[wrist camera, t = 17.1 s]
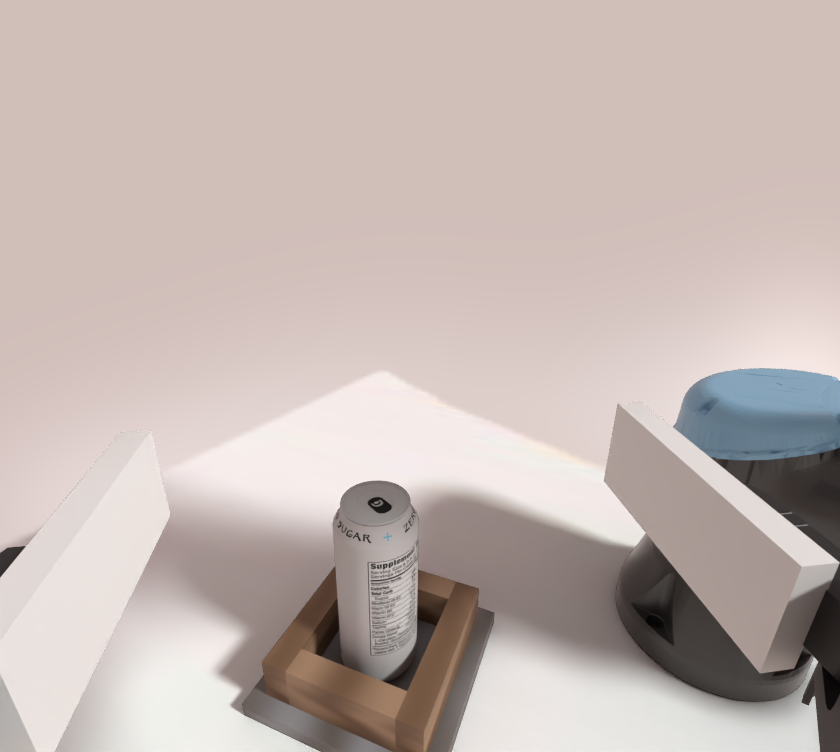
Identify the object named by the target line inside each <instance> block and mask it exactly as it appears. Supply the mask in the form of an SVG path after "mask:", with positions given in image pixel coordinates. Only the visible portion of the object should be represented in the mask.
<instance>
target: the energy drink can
mask: <svg viewBox="0 0 840 752" xmlns="http://www.w3.org/2000/svg"><path fill="white" fill-rule="evenodd" d="M418 531H419V518H418V515H417V512H416V511H415V509H414V508H413V506H412V505H411V503H410V497H409V494H408V493H407V491H406V490H405V489H404V488H402V487H401V486H399V485H397V484H394V483H391V482H387V481H368V482H363V483H360V484H357V485H355V486H353V487H351V488H350V489H348V490H347V491H346V492H345V493H344V494H343V496H342V498H341V502H340V508H339V509H338V511H337V513H336V515H335V517H334V520H333V537H334V552H335V568H336V583H337V598H338V614H339V629H340V645H341V657H342V660H343V663H344V664H345V666H346V667H348V668H351V669H353V670H356V671H358V672H361V673H363V674H366V675H368V676H371V677H373V678H376V679H378V680H380V681H383V682H385V683H386V682H389V681H392V680H394V679H395V678H397V677H398V676H400V675H401V674H402V673H403V672H404V671H405V670H407V669H408V667H409V666H410V665H411V663H412V662H413V660H414V657H415V655H416V650H417V594H418Z"/></svg>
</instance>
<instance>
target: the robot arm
mask: <svg viewBox="0 0 840 752" xmlns="http://www.w3.org/2000/svg"><path fill="white" fill-rule="evenodd" d="M604 482H605V483H606V484H607V485H608V487H609V488H610V489H611V490H612V492H613V493H614V494H615V495H616V497H617V498H618V499H619V500H620V501H621V503H622V504H623V505H624V506H625V508H626V509H627V510H628V511H629V513H630V514H631V515H632V516H633V517H634V519H635V520H636V521H637V522H638V524H639V525H640V526H641V527H642V529H643V530H644V531H645V532H646V534H645V535H644V536H643V538H642V539H641V540H640V542H639V543H638V544H637V546H636V547H635V548H634V549H633V551H632V552H631V553H630V555H629V556H628V557H627V559H626V560H625V562H624V564H623V566H622V568H621V571H620V575H619V579H618V584H617V589H616V603H617V608H618V612H619V614H620V617H621V619H622V621H623V623H624V625H625V627H626V629H627V630H628V632H629V633H630V635H631V636H632V637H633V639H634V640H635V641H636V642H637V644H638V645H639V646H640V647H641V648H642V649H643V650H644V651H645V652H646V653H647V654H648V655H649V656H650V657H651V658H652V659H654V660H655V661H656V662H657V663H658V664H660V665H661V666H662V667H664V668H665V669H666V670H668V671H669V672H671V673H672V674H674V675H675V676H677V677H679V678H681V679H682V680H684V681H686V682H688V683H690V684H692V685H694V686H696V687H698V688H700V689H703V690H705V691H708V692H710V693H713V694H716V695H719V696H723V697H727V698H731V699H736V700H742V701H754V702H758V701H771V700H776V699H779V698H783V697H785V696H787V695H789V694H791V693H793V692H794V691H795V690H797V689H798V687H799V686H800V685H801V684H802V683H803V681H804V679H805V677H806V675H807V672H808V670H809V668H810V666H811V663H812V661H813V658H814V657H815V658H816V659H817V661H818V664H817V666H816V668H815V670H814V673H813V675H812V677H811V679H810V681H809V684H808V686H807V688H806V690H805V692H804V695H803V699H802V703H804V704H806V705H809V703H810V701H811V699H812V697H814V696H815V698H816V709H817V720H818V732H819V743H820V752H840V381H838V379H837V378H836V377H832V376H828V375H822V374H817V373H811V372H805V371H797V370H787V369H765V368H760V369H739V370H733V371H726V372H721V373H717V374H713V375H711V376H708V377H706V378H704V379H701V380H700V381H698V382H697V383H695V384H694V385H693V386H692V387H691V388H690V389H689V390H688V392H687V393H686V395H685V397H684V399H683V402H682V406H681V409H680V413H679V416H678V419H677V422H676V424H675V425H674V426H673V427H672V426H671V425H669V424H668V423H667V422H665V421H664V420H663V419H662V418H661V417H660V416H658V415H657V414H656V413H655V412H654V411H652V410H651V409H650V408H649V407H647V406H646V405H645V404H644V403H642V402H632V403H618V405H617V410H616V416H615V422H614V427H613V433H612V438H611V444H610V449H609V455H608V461H607V466H606V472H605V477H604ZM170 515H171V514H170V510H169V505H168V501H167V497H166V492H165V488H164V484H163V479H162V475H161V471H160V467H159V462H158V458H157V453H156V449H155V445H154V440H153V436H152V432H151V430H149V431H131V432H120V433H119V434H118V436H117V437H116V438H115V439H114V441H113V442H112V443H111V444H110V445H109V446H108V448H107V449H106V450H105V451H104V452H103V454H102V455H101V456H100V457H99V459H98V460H97V461H96V462H95V464H94V465H93V466H92V467H91V468H90V470H89V471H88V472H87V473H86V474H85V476H84V477H83V478H82V479H81V480H80V482H79V483H78V484H77V485H76V486H75V488H74V489H73V490H72V491H71V492H70V494H69V495H68V496H67V497H66V499H65V500H64V501H63V502H62V503H61V505H60V506H59V507H58V508H57V509H56V511H55V512H54V513H53V514H52V515H51V517H50V518H49V519H48V520H47V522H46V523H45V524H44V525H43V526H42V528H41V529H40V530H39V531H38V532H37V534H36V535H35V536H34V537H33V539H32V540H31V541H30V542H29V543H28V545H27V546H23V547H11V548H7V549H5V550H4V551H3V552H1V553H0V752H55V750H56V748H57V746H58V744H59V742H60V740H61V738H62V736H63V734H64V732H65V730H66V728H67V726H68V723H69V721H70V719H71V717H72V715H73V713H74V711H75V709H76V707H77V705H78V703H79V701H80V699H81V697H82V695H83V693H84V691H85V689H86V687H87V685H88V683H89V681H90V679H91V677H92V674H93V672H94V670H95V668H96V666H97V664H98V662H99V660H100V658H101V656H102V654H103V652H104V650H105V648H106V646H107V644H108V642H109V640H110V638H111V636H112V634H113V632H114V630H115V628H116V626H117V623H118V621H119V619H120V617H121V615H122V613H123V611H124V609H125V607H126V605H127V603H128V601H129V599H130V597H131V595H132V593H133V591H134V589H135V587H136V585H137V583H138V581H139V579H140V577H141V575H142V572H143V570H144V568H145V566H146V564H147V562H148V560H149V558H150V556H151V554H152V552H153V550H154V548H155V546H156V544H157V542H158V540H159V538H160V536H161V534H162V532H163V530H164V528H165V526H166V524H167V521H168V519H169V517H170Z"/></svg>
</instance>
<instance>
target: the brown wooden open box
mask: <svg viewBox="0 0 840 752" xmlns="http://www.w3.org/2000/svg"><path fill="white" fill-rule="evenodd" d="M478 593H479V589H478V588H475V587H472V586H469V585H465V584H462V583H459V582H456V581H452V580H449V579H446V578H443V577H439V576H436V575H433V574H430V573H426V572H423V571H420V570H418V594H417V650H416V655H415V657H414V660H413V662H412V663H411V665H410V666H409V667H408V669H407V670H405V671H404V672H403V673H402V674H401V675H400V676H398V677H397V678H395V679H394V680H392V681H389V682H386V683H385V682H383V681H380V680H378V679H376V678H373V677H371V676H368V675H366V674H363V673H361V672H358V671H356V670H353V669H351V668H348V667H346V666H345V664H344V663H343V660H342V657H341V645H340V629H339V614H338V598H337V583H336V568H335V567H334V568H333V570H332V571H331V572H330V574H329V575H328V576H327V578H326V579H325V580H324V581H323V583H322V584H321V585H320V587H319V588H318V589H317V591H316V592H315V593H314V595H313V596H312V597H311V598H310V600H309V601H308V602H307V604H306V605H305V606H304V608H303V609H302V610H301V612H300V613H299V614H298V616H297V617H296V618H295V619H294V621H293V622H292V623H291V625H290V626H289V627H288V629H287V630H286V631H285V633H284V634H283V635H282V637H281V638H280V639H279V640H278V642H277V643H276V644H275V646H274V647H273V648H272V650H271V651H270V652H269V654H268V655H267V656H266V657H265V659H264V660H263V661H262V666H263V672H264V676H263V677H262V678H261V680H260V681H259V682H258V684H257V685H256V686H255V688H254V689H253V690H252V692H251V693H250V695H249V696H248V697H247V699H246V700H245V701H244V703H243V704H242V705H243V710H244V715H246V716H248V717H250V718H252V719H254V720H256V721H258V722H260V723H263V724H265V725H267V726H269V727H271V728H273V729H275V730H277V731H279V732H281V733H284V734H286V735H288V736H290V737H292V738H294V739H296V740H298V741H300V742H302V743H304V744H307V745H309V746H311V747H313V748H315V749H317V750H319V751H321V752H452V749H453V746H454V743H455V739H456V736H457V733H458V730H459V727H460V724H461V721H462V718H463V715H464V712H465V709H466V706H467V703H468V699H469V696H470V693H471V690H472V687H473V684H474V681H475V678H476V675H477V672H478V669H479V666H480V662H481V659H482V656H483V653H484V650H485V647H486V644H487V641H488V638H489V635H490V632H491V629H492V626H493V622H494V612H491V611H488V610H485V609H482V608H478Z"/></svg>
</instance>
